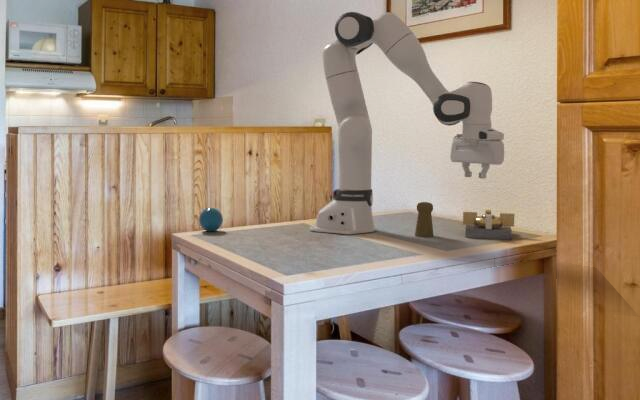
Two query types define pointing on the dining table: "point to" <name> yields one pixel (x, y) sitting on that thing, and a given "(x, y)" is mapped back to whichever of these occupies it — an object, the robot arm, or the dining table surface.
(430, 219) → the cork
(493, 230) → the housing
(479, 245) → the dining table surface
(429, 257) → the dining table surface
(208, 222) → the ball
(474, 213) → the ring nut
